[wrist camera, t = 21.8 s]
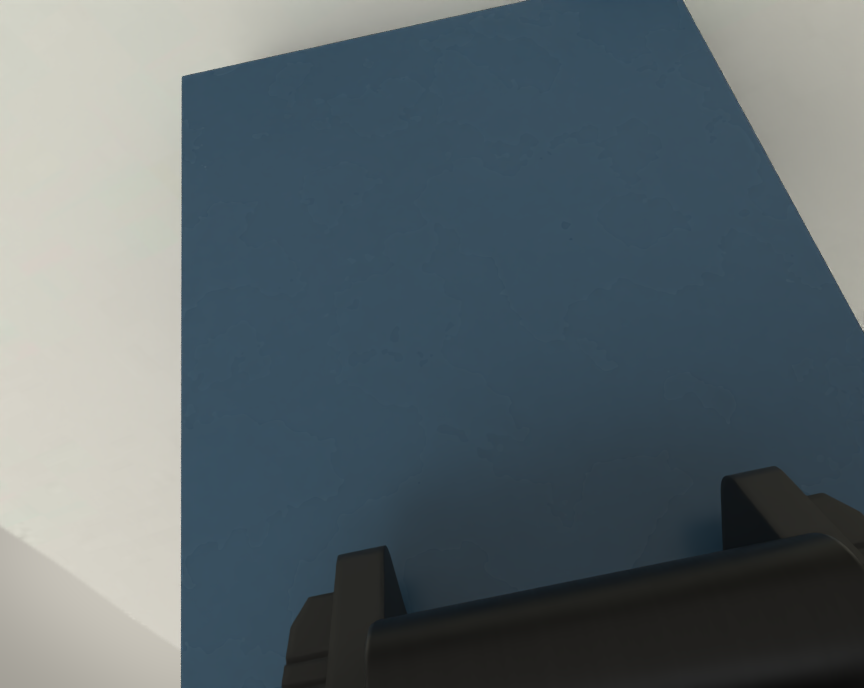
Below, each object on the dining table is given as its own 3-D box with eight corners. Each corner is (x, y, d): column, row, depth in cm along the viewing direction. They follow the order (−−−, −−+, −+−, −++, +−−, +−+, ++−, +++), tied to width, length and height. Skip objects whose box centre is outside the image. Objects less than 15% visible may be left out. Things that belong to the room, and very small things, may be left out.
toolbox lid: (1065, 769, 10) (1540, 828, 5) (202, 934, 10) (-63, 1127, 6) (661, -3, 18) (707, -243, 14) (193, 99, 18) (84, -102, 14)
